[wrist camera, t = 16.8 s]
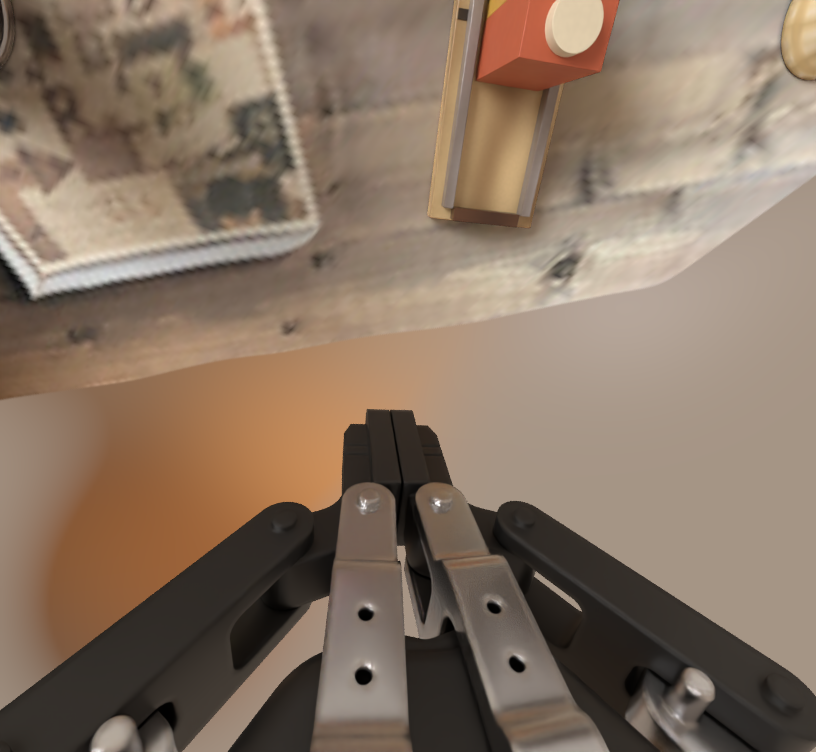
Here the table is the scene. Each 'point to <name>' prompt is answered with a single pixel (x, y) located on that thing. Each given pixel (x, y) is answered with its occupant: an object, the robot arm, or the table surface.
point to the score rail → (487, 136)
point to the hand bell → (800, 39)
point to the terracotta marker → (545, 42)
